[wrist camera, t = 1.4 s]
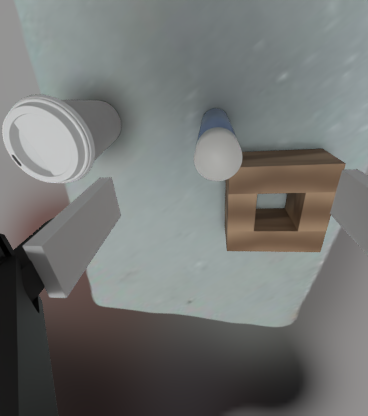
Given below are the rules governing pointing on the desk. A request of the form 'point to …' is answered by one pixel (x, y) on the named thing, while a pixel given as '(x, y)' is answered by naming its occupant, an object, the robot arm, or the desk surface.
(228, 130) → the marker
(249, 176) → the socket block
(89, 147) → the coffee cup
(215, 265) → the desk surface
